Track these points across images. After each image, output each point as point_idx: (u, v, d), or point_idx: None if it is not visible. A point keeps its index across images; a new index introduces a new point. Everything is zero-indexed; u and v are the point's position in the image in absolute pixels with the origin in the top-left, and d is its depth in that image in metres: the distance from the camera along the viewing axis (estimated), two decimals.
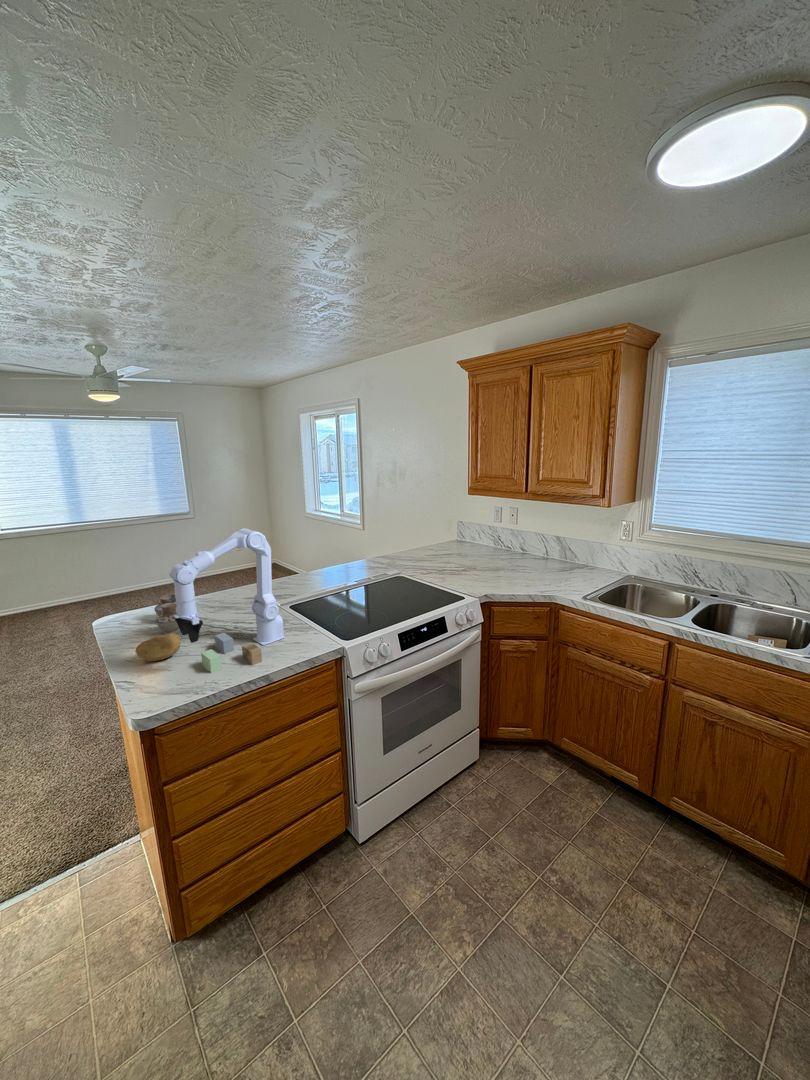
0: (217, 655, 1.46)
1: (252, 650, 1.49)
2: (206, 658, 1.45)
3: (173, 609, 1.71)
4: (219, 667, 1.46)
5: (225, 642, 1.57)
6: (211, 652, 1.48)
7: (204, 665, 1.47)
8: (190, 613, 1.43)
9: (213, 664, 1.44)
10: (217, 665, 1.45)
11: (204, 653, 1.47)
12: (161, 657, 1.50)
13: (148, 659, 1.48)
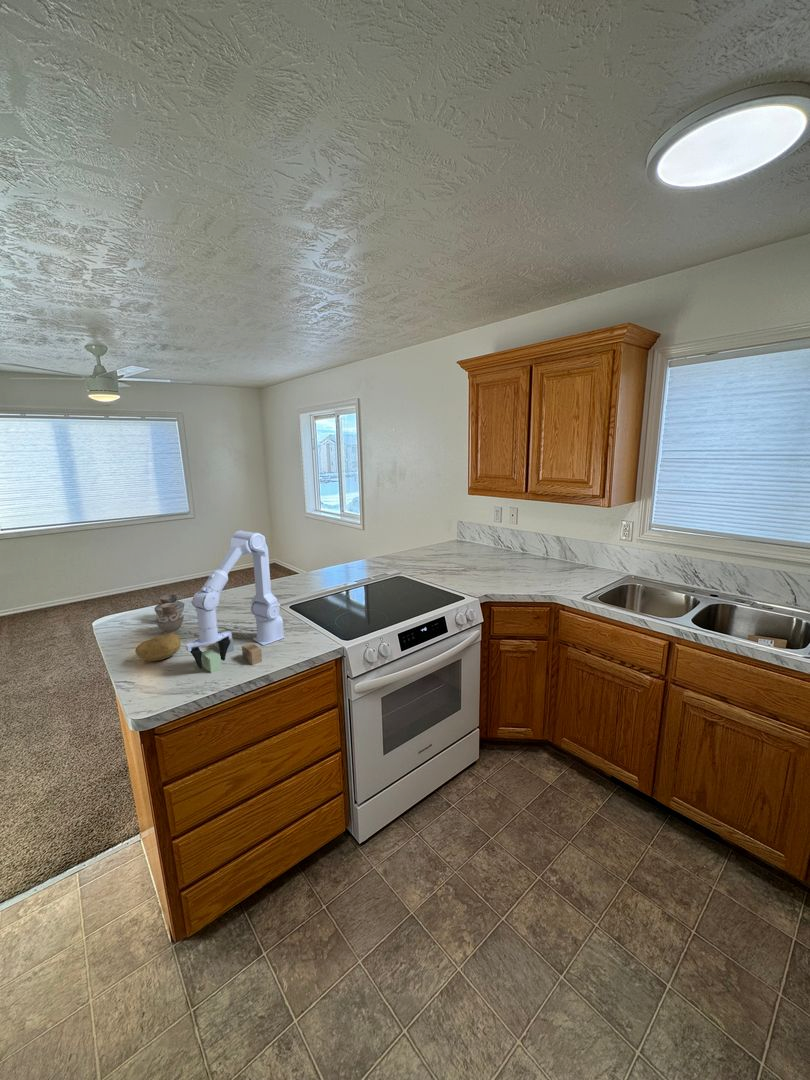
0: (217, 655, 1.46)
1: (252, 650, 1.49)
2: (206, 658, 1.45)
3: (173, 609, 1.71)
4: (219, 667, 1.46)
5: None
6: (211, 652, 1.48)
7: (204, 665, 1.47)
8: (200, 639, 1.43)
9: (213, 664, 1.44)
10: (217, 665, 1.45)
11: (204, 653, 1.47)
12: (161, 657, 1.50)
13: (148, 659, 1.48)
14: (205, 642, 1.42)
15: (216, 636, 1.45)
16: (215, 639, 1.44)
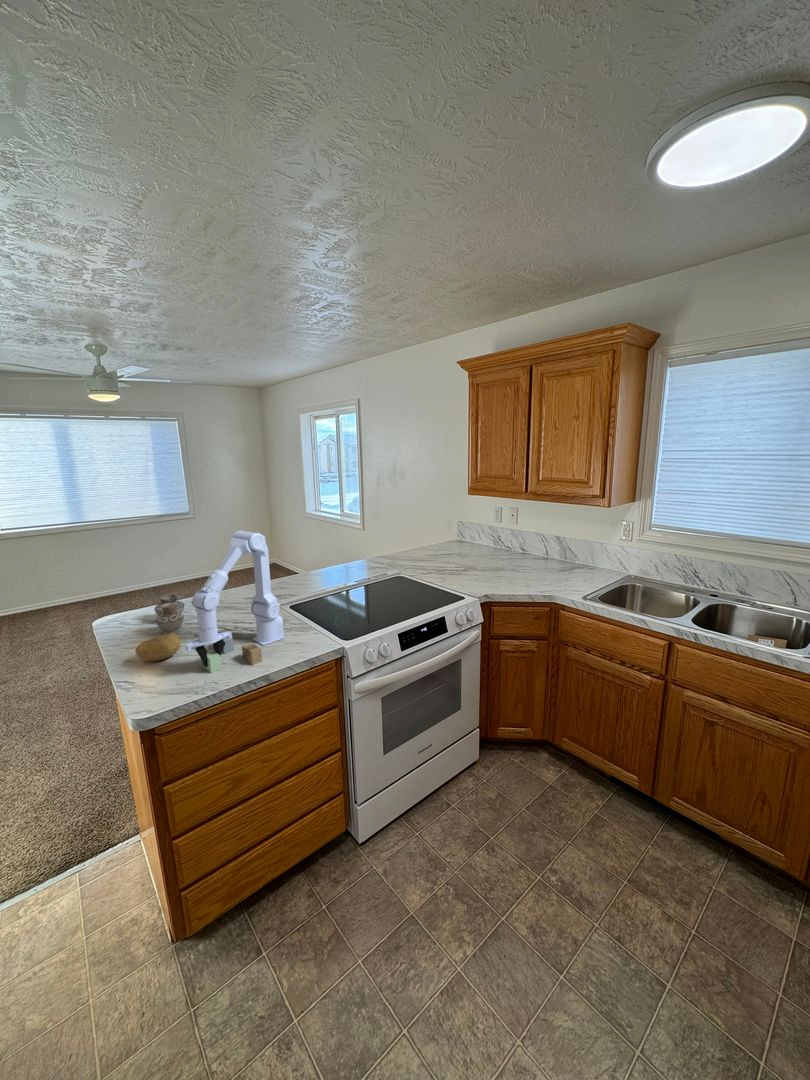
0: (217, 655, 1.46)
1: (252, 650, 1.49)
2: None
3: (173, 609, 1.71)
4: (219, 667, 1.46)
5: (225, 642, 1.57)
6: (211, 652, 1.48)
7: None
8: (200, 640, 1.43)
9: (213, 664, 1.44)
10: (217, 665, 1.45)
11: None
12: (161, 657, 1.50)
13: (148, 659, 1.48)
14: (205, 642, 1.42)
15: (216, 636, 1.45)
16: (215, 639, 1.44)
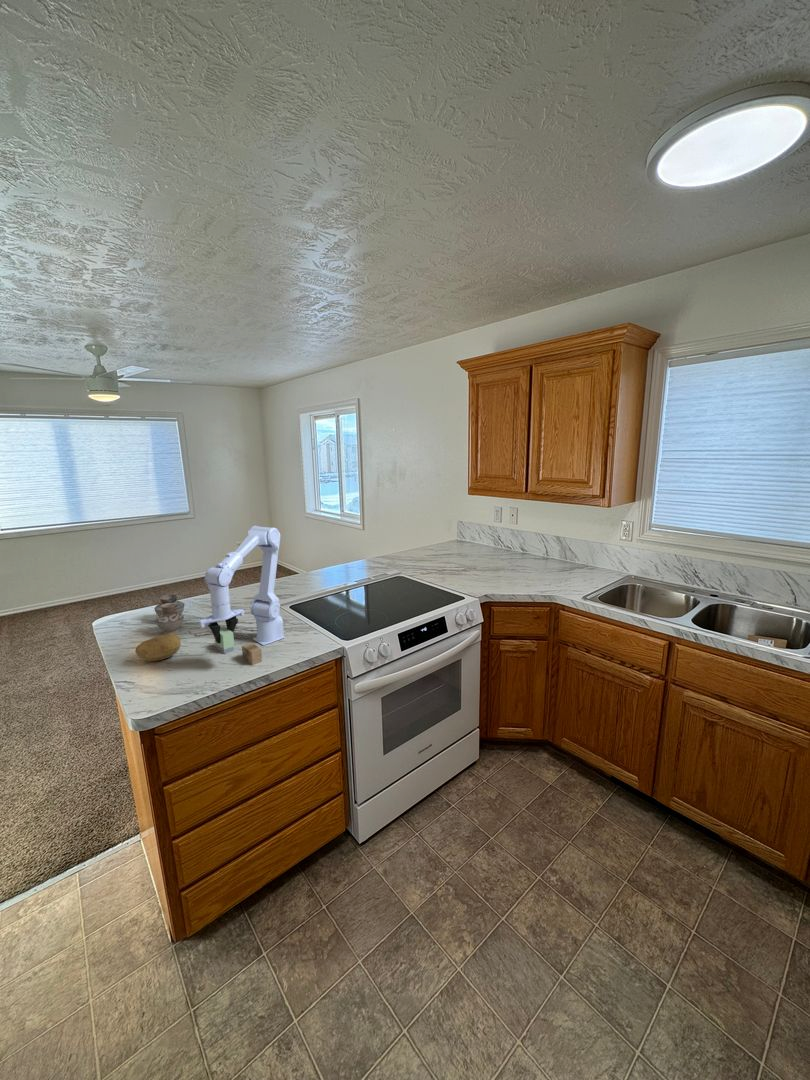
0: (230, 631, 1.46)
1: (252, 650, 1.49)
2: None
3: (173, 609, 1.71)
4: (232, 643, 1.46)
5: None
6: (224, 629, 1.48)
7: None
8: (213, 616, 1.43)
9: (226, 640, 1.45)
10: (230, 642, 1.45)
11: None
12: (161, 657, 1.50)
13: (148, 659, 1.48)
14: (218, 618, 1.43)
15: (229, 613, 1.45)
16: (228, 616, 1.44)
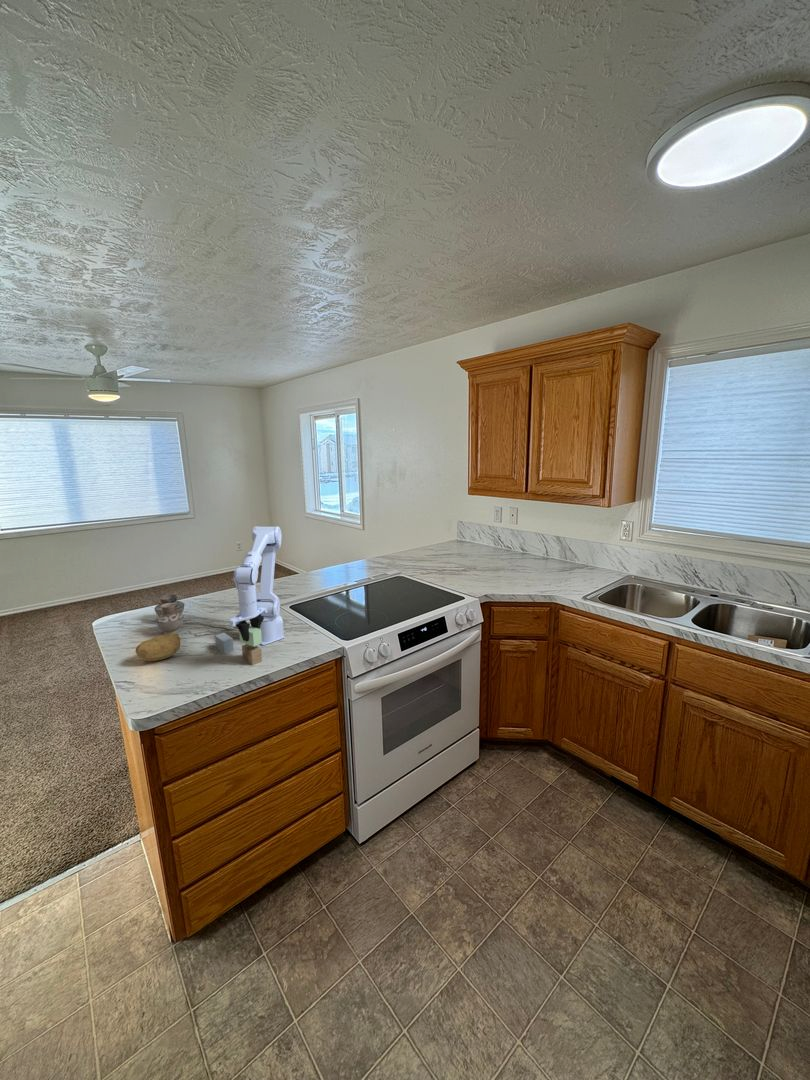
0: (257, 629, 1.50)
1: (252, 650, 1.49)
2: None
3: (173, 609, 1.71)
4: (260, 640, 1.50)
5: (225, 642, 1.57)
6: (249, 627, 1.51)
7: (243, 640, 1.51)
8: (242, 615, 1.47)
9: (255, 638, 1.48)
10: (258, 639, 1.50)
11: None
12: (161, 657, 1.50)
13: (148, 659, 1.48)
14: (248, 616, 1.46)
15: (256, 610, 1.49)
16: (256, 613, 1.48)
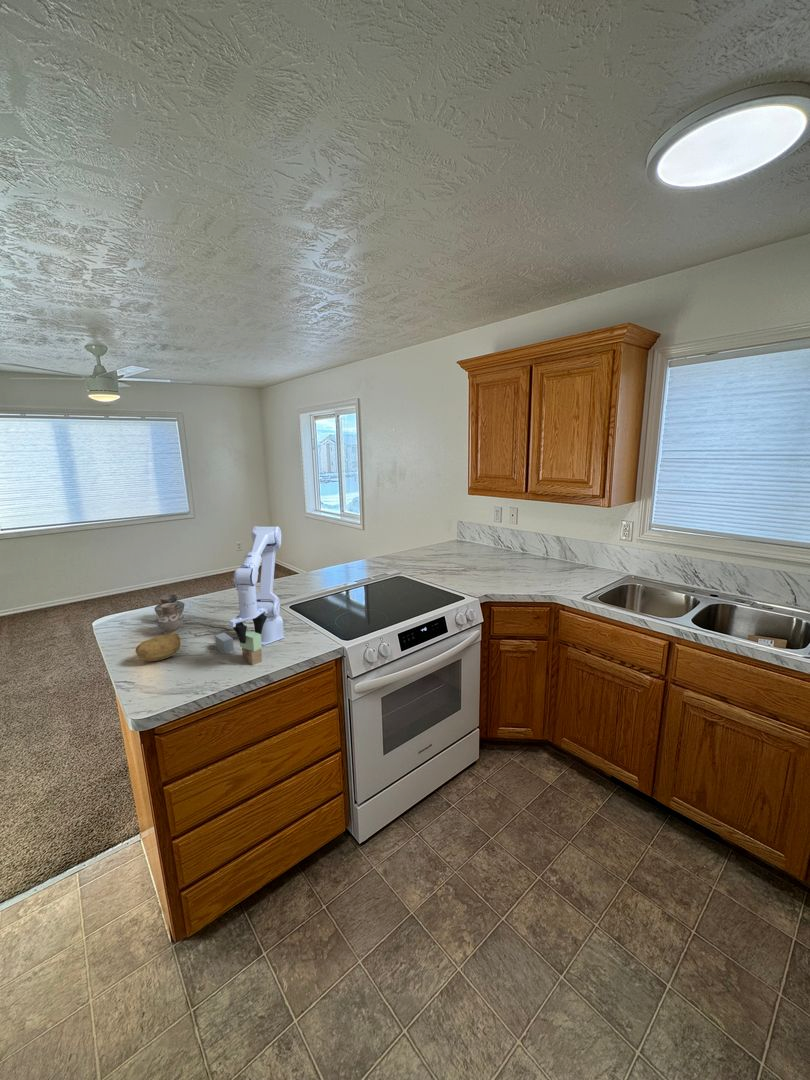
0: (257, 634, 1.50)
1: None
2: (247, 637, 1.49)
3: (173, 609, 1.71)
4: (260, 645, 1.51)
5: (225, 642, 1.57)
6: (249, 632, 1.52)
7: (243, 645, 1.51)
8: (242, 615, 1.47)
9: (255, 642, 1.49)
10: (258, 643, 1.50)
11: None
12: (161, 657, 1.50)
13: (148, 659, 1.48)
14: (248, 617, 1.46)
15: (256, 611, 1.49)
16: (256, 614, 1.49)
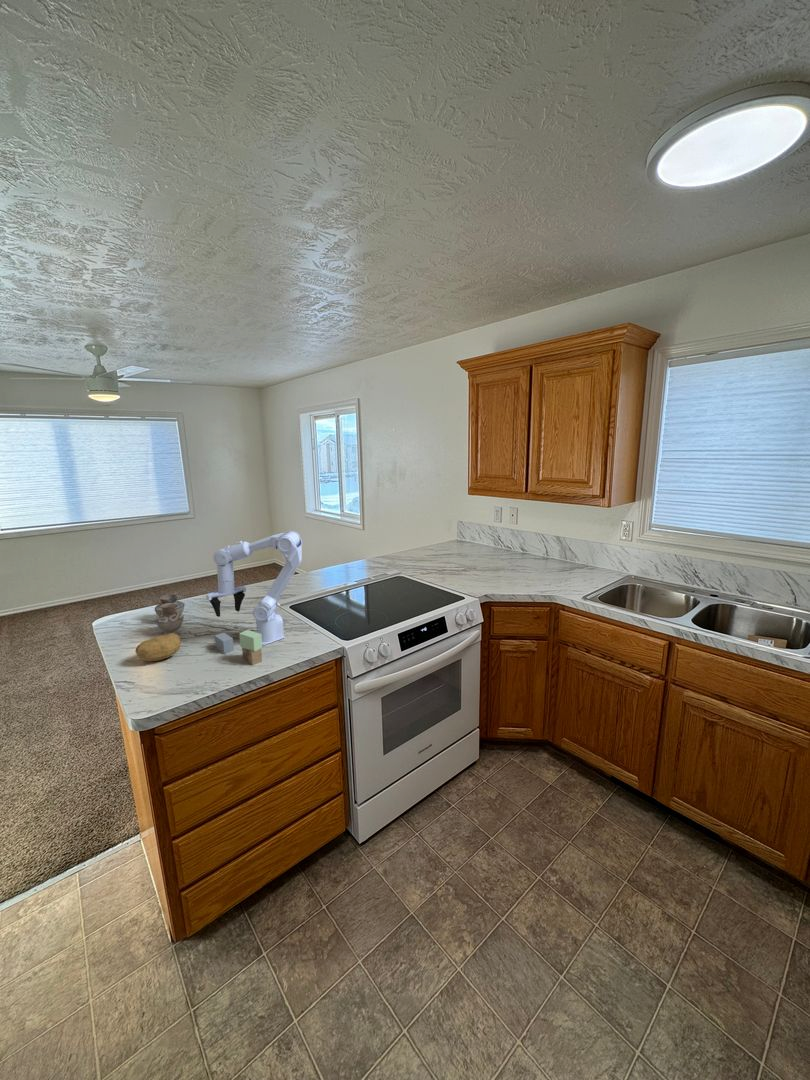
0: (258, 634, 1.51)
1: None
2: (247, 637, 1.49)
3: (173, 609, 1.71)
4: (260, 645, 1.51)
5: (225, 642, 1.57)
6: (249, 632, 1.52)
7: (243, 645, 1.51)
8: (219, 591, 1.63)
9: (256, 642, 1.49)
10: (259, 643, 1.50)
11: (243, 634, 1.50)
12: (161, 657, 1.50)
13: (148, 659, 1.48)
14: (223, 593, 1.62)
15: (233, 588, 1.64)
16: (232, 591, 1.64)
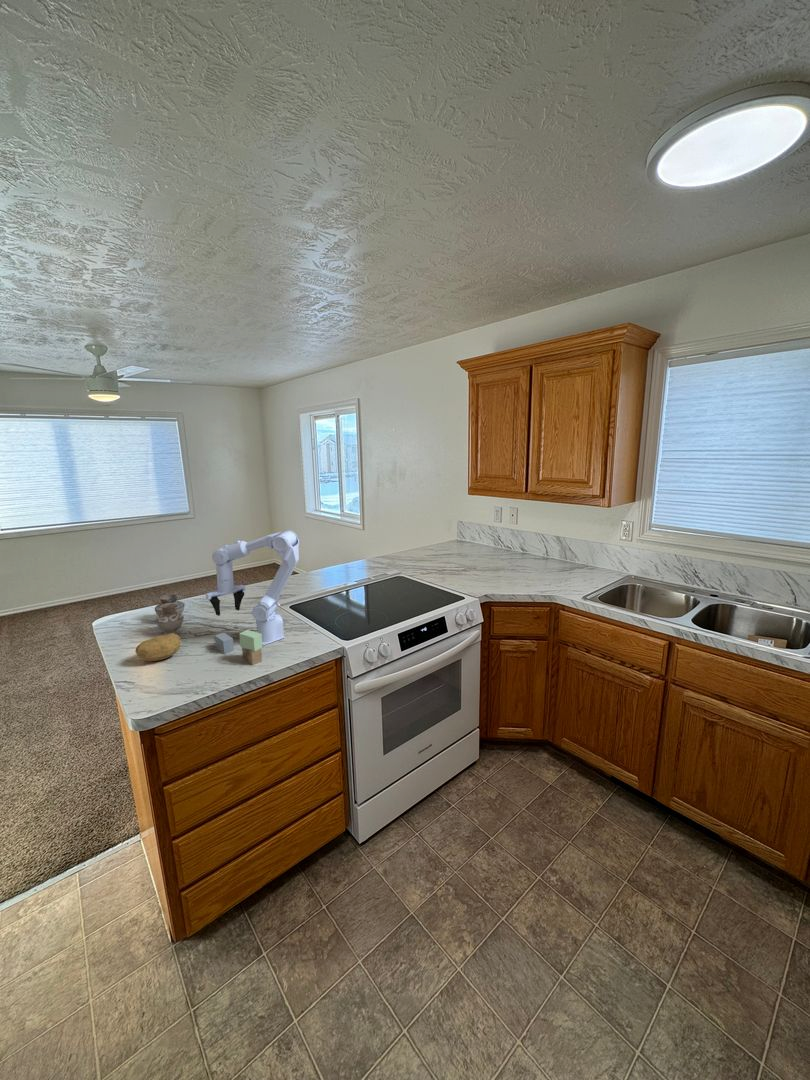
0: (258, 634, 1.51)
1: None
2: (247, 637, 1.49)
3: (173, 609, 1.71)
4: (260, 645, 1.51)
5: (225, 642, 1.57)
6: (249, 632, 1.52)
7: (243, 645, 1.51)
8: (218, 590, 1.64)
9: (256, 642, 1.49)
10: (259, 643, 1.50)
11: (243, 634, 1.50)
12: (161, 657, 1.50)
13: (148, 659, 1.48)
14: (223, 592, 1.63)
15: (232, 587, 1.65)
16: (231, 590, 1.65)
